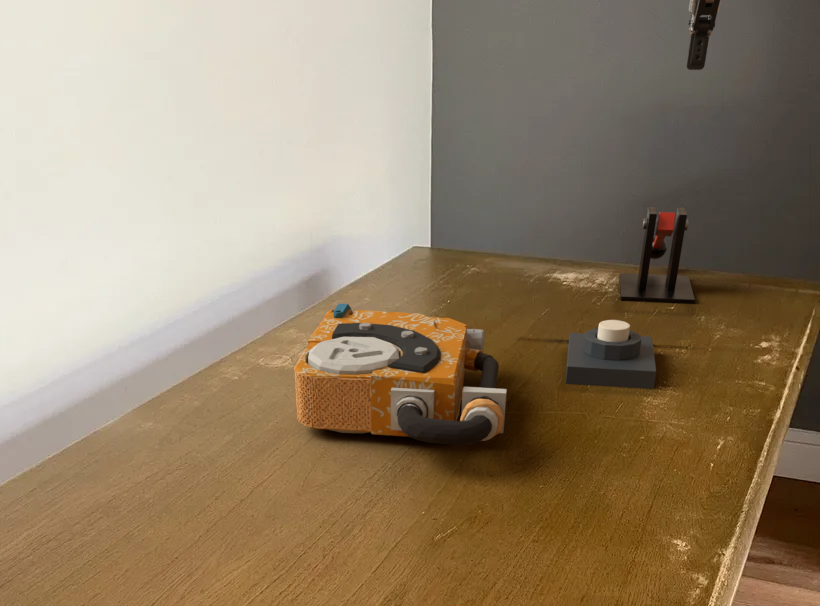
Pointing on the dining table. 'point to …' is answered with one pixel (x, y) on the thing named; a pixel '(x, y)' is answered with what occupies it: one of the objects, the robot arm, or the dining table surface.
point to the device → (398, 378)
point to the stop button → (613, 331)
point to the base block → (610, 361)
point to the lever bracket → (659, 286)
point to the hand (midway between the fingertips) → (694, 68)
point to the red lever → (662, 233)
